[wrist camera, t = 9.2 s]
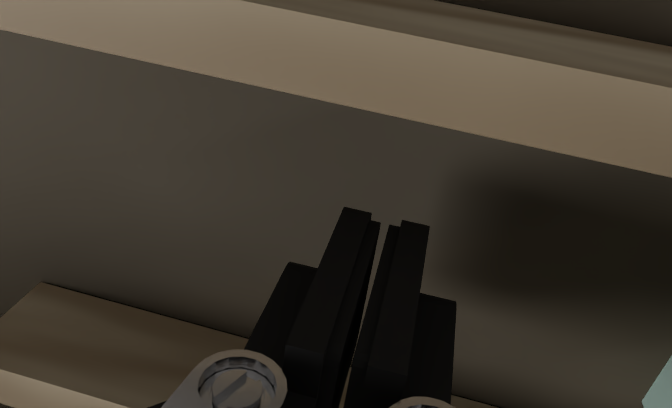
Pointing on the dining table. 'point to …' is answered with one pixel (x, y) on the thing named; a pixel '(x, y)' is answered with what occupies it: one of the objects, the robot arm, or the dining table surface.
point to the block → (660, 389)
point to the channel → (341, 88)
